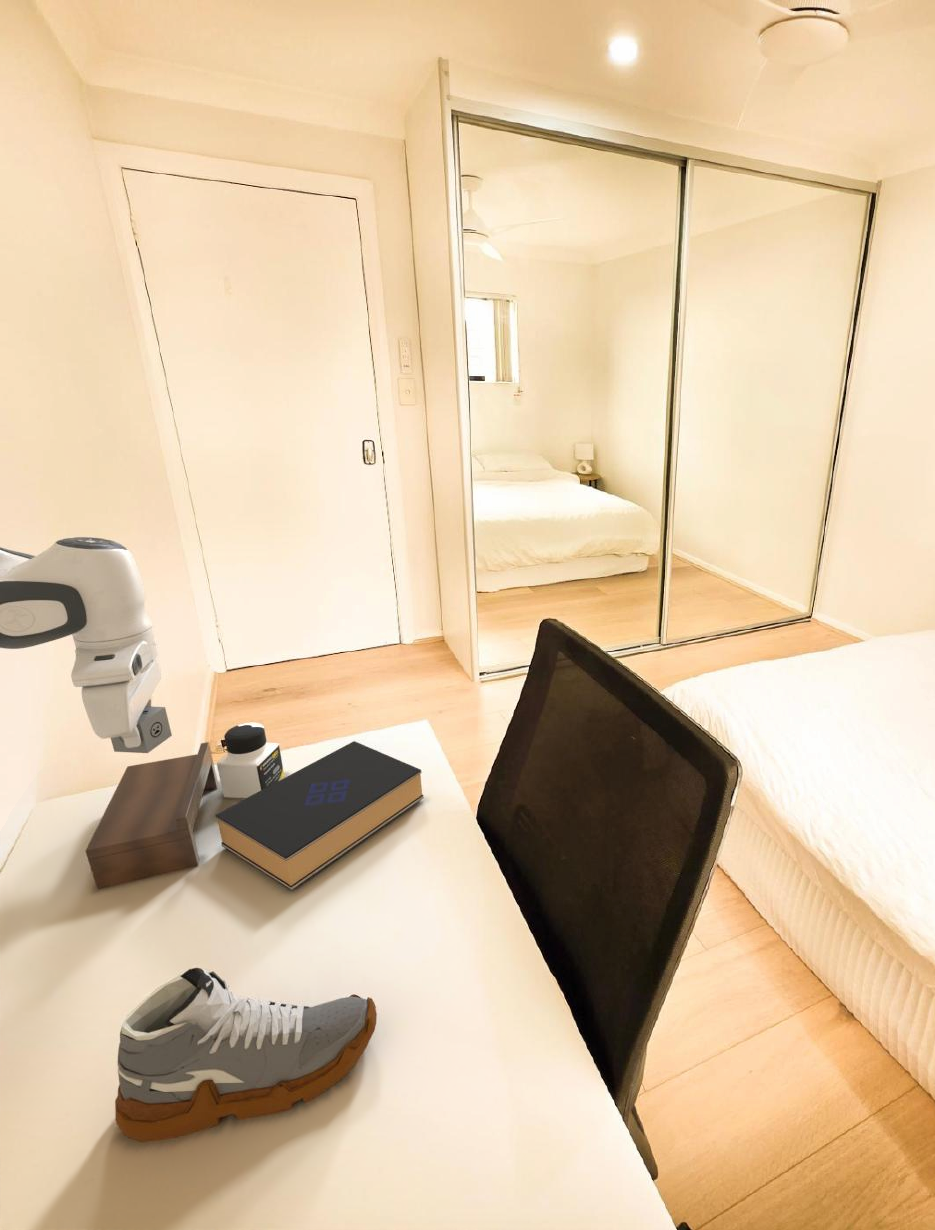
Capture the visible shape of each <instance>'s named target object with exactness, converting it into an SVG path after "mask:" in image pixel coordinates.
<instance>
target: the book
mask: <svg viewBox="0 0 935 1230" xmlns="http://www.w3.org/2000/svg"><path fill="white" fill-rule="evenodd" d="M422 772H423V771H422V769H420V768H418V767H416V766H414V765H411V764H410V763H406V762H404V761H402V760H399V759H397V758H395V757H392V756H390V755H388V754H385V753H383V752H381V751H379V750H377V749H374V748H372V747H369V746H366V745H364V744H362V743H360V742H358V741H356V740H353V741H351V742H350V743H347V744H346V745H344V746H342V747H340V748H338V749H336V750H334V751H332V752H331V753H329V754H327V755H325V756H323V757H321V758H320V759H318V760H315V761H314V762H312V763H310V764H308V765H306V766H304V767H302V768H300V769H298V770H296V771H294V772H292V773H291V774H289V775H286V776H284V777H283V778H282V779H281V780H280V781H278V782H276V783H274V784H272V785H270V786H268V787H266V788H265V789H263V790H261V791H259V792H257V793H255V794H253V795H251V796H250V797H248V798H243V799H241V800H240V801H238V802H236V803H234V804H232V805H230V806H228V807H227V808H225V809H222V810H221V811H219V812H217V813H215V815H214V817H215V819H216V820H217V823H218V828H219V833H220V837H221V847H223V848H224V849H226V850H227V851H229V852H231V853H232V854H234V855H235V856H237V857H239V858H240V859H242V860H243V861H245V862H247V863H248V864H250V865H251V866H252V867H254V868H255V869H257V870H259V871H260V872H262V873H264V874H265V875H266V876H268V877H270V878H271V879H272V880H273V879H274V880H275V881H276V882H278V883H279V884H281V885H283V887H286V888H287V889H288V890H290V891H293V890H294V889H296V888H297V887H298V886H300V885H302V884H303V883H305V882H306V881H307V880H308V879H310V878H311V877H313V876H314V875H316V874H318V873H319V872H320V871H321V870H323V869H324V868H326V867H327V866H329V865H330V864H332V863H333V862H335V861H336V860H337V859H339V858H340V857H341V856H343V855H345V854H346V853H347V852H349V851H350V850H351V849H353V848H355V847H356V846H357V845H359V844H360V843H361V842H363V841H364V840H366V839H367V838H369V837H370V836H372V835H373V834H375V833H376V832H377V831H379V830H380V829H381V828H383V827H384V826H386V825H387V824H389V823H390V822H391V821H393V820H394V819H395V818H397V817H399V816H400V815H402V814H404V812H406V811H407V810H409V809H410V808H411V807H413V806H415V805H416V804H418V802H420V801H422V800H423V799H425V798H424V794H423V788H422V776H421V774H422Z"/></svg>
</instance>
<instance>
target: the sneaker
mask: <svg viewBox="0 0 935 1230" xmlns="http://www.w3.org/2000/svg"><path fill="white" fill-rule="evenodd" d="M376 1008H377V1006H376V1004H375V1002H374V1000H373V998H372V997H370V996H368V997H367V998H362V997H361V996H360V995H358V994H351V995H350V996H347V997H341V998H337V999H334V1000H330V1001H327V1002H323V1003H321V1004H317V1005H314V1006H308V1005H301V1004H297V1005H295V1004H293V1003H290V1002H286V1003H283V1002H282V1001H271V1000H264V1001H260V999H257V998H254V997H253V998H248V997H246V996H244V997H240V996H238V995H237V994H235V993H234V992H231V990H230V986H229V985H228V983H227V982H226V981H225V980H223V979H222V978H221V977H220V976H219V975H218V974H217V973H216V972H215V971H214V970H213V971H210V972H208V970H207V969H205V968H200V967H193V968H189V969H188V970H186V971H185V972H184V973H183V974H180V975H178V976H176V977H174V978H172V979H171V980H169V981H167V982H166V983H163V984H162V985H161V986H159V987H156V988H155V989H154V990H153V991H152V992H151V993H149V995H148V996H146V998H145V999H143V1000H142V1001H141V1003H139V1004H138V1005H137V1006H136V1007H135V1008H133V1009H132V1011H131V1012H129V1013H128V1014H127V1015H126V1017H125V1019H124V1021H123V1022H122V1024H121V1027H120V1032H119V1044H118V1049H117V1074H118V1075H117V1076H118V1083H119V1084H118V1088H117V1096H116V1098H115V1100H114V1108H115V1109H114V1110H115V1112H114V1113H115V1114H114V1115H115V1122H116V1124H117V1126H118V1128H119V1129H120V1131H121V1133H122V1134H123V1135H124V1136H125V1137H128V1138H131V1139H133V1140H135V1141H138V1142H140V1143H148V1142H155V1141H160V1140H161V1141H162V1140H169V1139H174V1138H179V1137H183V1136H186V1135H190V1134H193V1133H197V1132H200V1131H201V1132H202V1131H203V1130H207V1129H210V1128H212V1127H215V1126H218V1125H219V1124H220V1122H221V1119H222V1117H227V1116H232V1115H235V1116H236V1118H237V1119H238V1120H239V1121H243V1120H248V1119H253V1118H254V1119H255V1118H258V1117H264V1116H270V1115H275V1114H280V1113H284V1112H288V1111H290V1110H292V1108H293V1106H294V1103H295V1102H296V1103H297V1102H299V1101H300V1100H303V1102H304V1103H309V1102H311V1101H312V1100H314V1099H316V1098H317V1097H319V1095H322V1094H323V1093H324V1092H326V1091H327V1090H328V1089H330V1088H331V1087H332V1086H334V1085H335V1084H337V1083H339V1081H341V1080H342V1079H344V1078H345V1077H346V1076H347V1075H348V1073H349V1072H350V1071H351V1070H352V1069H353V1068H354V1066H355V1065H356V1064H357V1063H358V1062H359V1059H360V1058H361V1057H362V1055H363V1054H364V1052H365V1051H366V1048H367V1046H368V1044H369V1042H370V1040H371V1039H372V1037H373V1035H374V1033H375V1030H376V1025H377V1014H378V1013H377V1009H376Z"/></svg>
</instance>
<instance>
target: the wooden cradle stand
mask: <svg viewBox="0 0 935 1230" xmlns="http://www.w3.org/2000/svg"><path fill="white" fill-rule="evenodd" d="M213 759H214V758H213V754H212V750H211V744H210V742H209V741H207V742H206V741H205V742H201V743H200V745H199V749H198V752H197V754H191V755H190V754H189V755H186V756H180V757H179V756H178V757H174V758H168V759H163V760H157V761H151V762H145V763H139V764H134V765H128V766H127V767H126V769H125V771H124V773H123V774H122V776H121V778H120V780H119V783H118V784H117V787H116V789H115V791H114V793H113V795H112V796H111V799H110V801H109V803H108V804H107V806H106V808H105V811H104V812H103V815H102V816H101V819H100V821H99V822H98V824H97V827H96V829H95V830H94V833H93V835H92V837H91V838H90V840H89V843H88V845H87V847H86V849H85V850H84V851H85V856H86V858H87V861H88V864H89V867H90V870H91V874H92V876H93V880H94V883H95V886H96V889H97V890H98V891H99V890H103V889H107V888H111V887H115V886H120V885H124V884H129V883H133V882H136V881H140V880H145V879H150V878H153V877H158V876H162V875H166V874H170V873H171V874H172V873H175V872H179V871H184V870H187V869H191V868H196V867H199V865H200V856H199V852H198V848H197V843H196V840H195V836H194V832H193V831H194V830H193V829H194V826H195V823H196V819H197V816H198V812H199V809H200V808H199V807H200V806H201V802H202V797H203V794H204V792H208V791H212V790H218V788H219V782H218V778H217V776H218V775H217V772H216V767H215V764H214V763H215V762H214V760H213Z"/></svg>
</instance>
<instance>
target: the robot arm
mask: <svg viewBox="0 0 935 1230" xmlns="http://www.w3.org/2000/svg"><path fill="white" fill-rule="evenodd" d="M145 603H146V591H145V589H144V584H143V581H142V577H141V574H140V571H139V568H138V566H137V563H136V560H135V559H134V556H133V554H132V553H131V551H130V550H129V549H128V548H127V547H126V546H124V545H123V544H121V543H119V542H116V541H114V540H111V539H106V538H100V537H88V536H76V537H67V538H62V539H58V540H56V541H55V542H54V543H53V544H52V545H51V546H50V547H48V548H47V549H46V550H44V551H42V552H41V553H39V554H37V555H32V554H28V553H25V552H20V551H16V550H12V549H8V548H5V547H1V546H0V649H7V650H18V649H19V650H20V649H26V648H32V647H36V646H40V645H43V644H46V643H50V642H54V641H57V640H60V639H63V638H65V637H68V636H72V639H73V642H74V646H75V650H74V652H75V660H74V665H73V667H72V670H71V674H70V677H71V681H72V684H73V686H74V687H75V688H81V699H82V703H83V707H84V709H85V712H86V715H87V718H88V720H89V722H90V725H91V728H92V730H93V732H94V734H95V735H96V736H97V737H99V738H100V739H111V738H113V737H119V736H121V737H122V738H123V739H124V743H125V746H126V747H127V748H132V747H138V746H140V744H141V742H142V738H141V734H140V732H139V731H138V728H137V726H136V725H137V721H138V719H139V717H140V716H141V714H142V712H143V710H144V708H145V706H151V707H153V694H154V691H155V690H156V688H157V687H158V684H160V683H159V682H160V680H161V679H162V676H161V675H162V671H161V666H160V663H159V659H158V657H159V655H160V651H159V647H158V643H157V638H156V634H155V631H154V626H153V622H152V620H151V618H150V616H149V615H148V614H147V611H146V604H145Z"/></svg>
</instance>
